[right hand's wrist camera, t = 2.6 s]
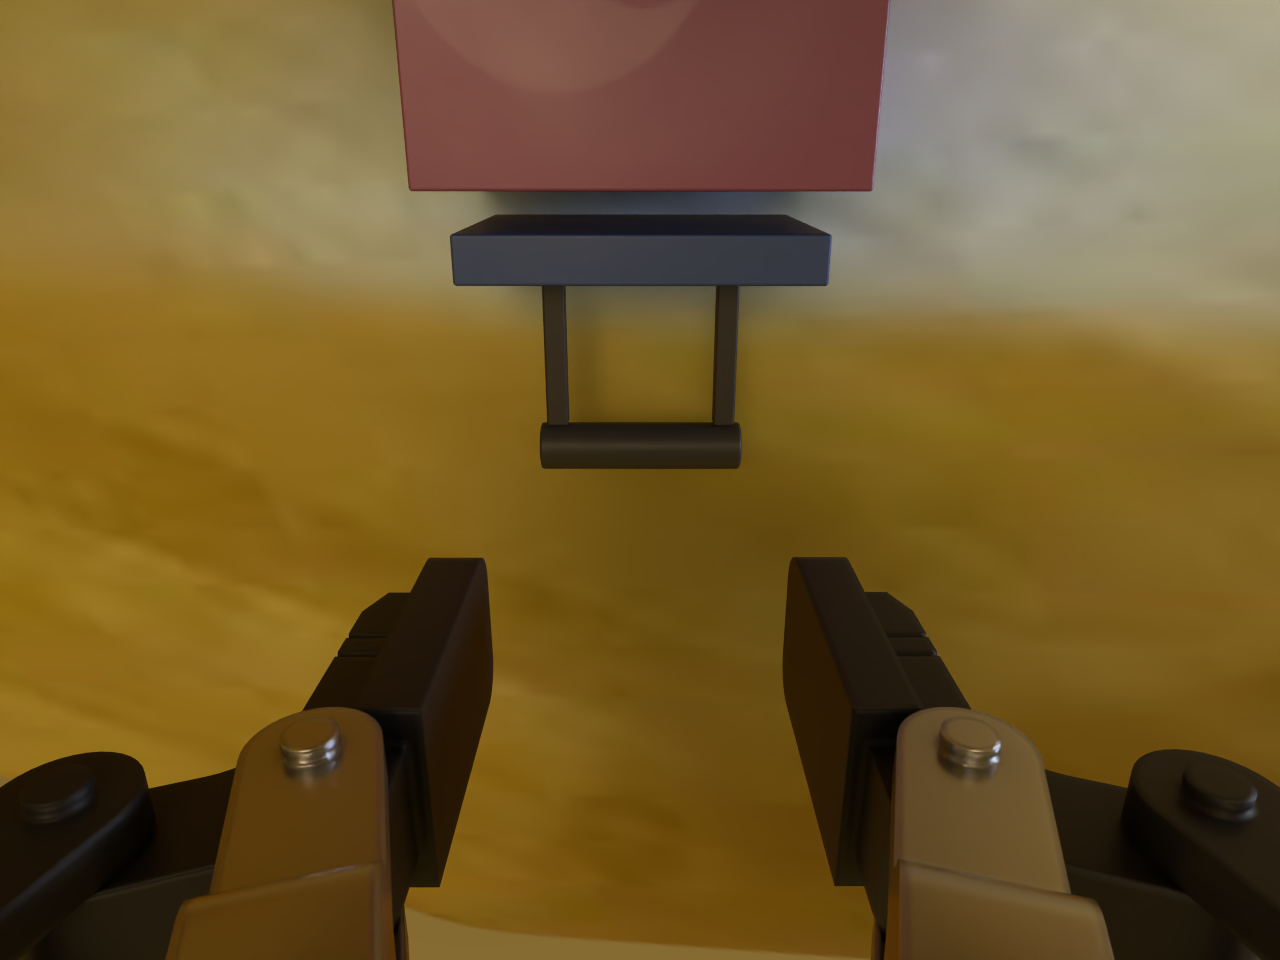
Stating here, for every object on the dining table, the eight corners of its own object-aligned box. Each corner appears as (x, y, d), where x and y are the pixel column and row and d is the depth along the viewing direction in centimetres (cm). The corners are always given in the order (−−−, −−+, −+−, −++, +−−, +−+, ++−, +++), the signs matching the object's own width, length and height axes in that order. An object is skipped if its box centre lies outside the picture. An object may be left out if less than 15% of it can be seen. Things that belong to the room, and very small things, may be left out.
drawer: (774, 432, 29) (811, 509, 23) (506, 432, 29) (469, 509, 23) (817, -316, 22) (888, -500, 16) (463, -316, 22) (393, -500, 16)
